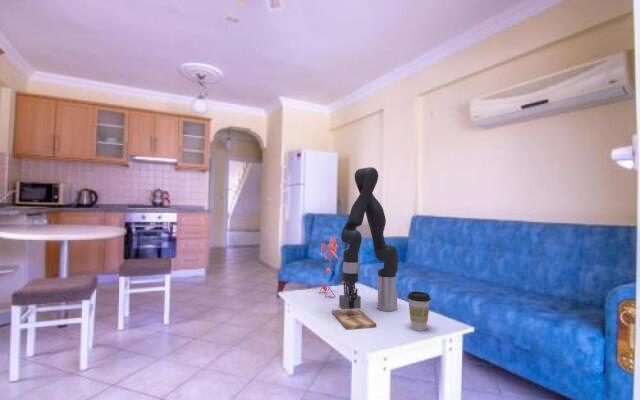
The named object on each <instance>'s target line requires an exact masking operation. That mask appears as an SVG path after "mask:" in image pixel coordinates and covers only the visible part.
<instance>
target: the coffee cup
mask: <svg viewBox="0 0 640 400" xmlns="http://www.w3.org/2000/svg"><path fill="white" fill-rule="evenodd" d="M407 299H408V309H409V317H410V318H409V320H410V325H411V329H412V330H414V331H417V332H422V331H423V332H424V331H426V330H427V327H428V325H427V324H428V320H429V313H430V312H429V311H430V303H431V302H430V301H432V300H431V299H432V298H431V297H430V294H429V293H427V292H423V291H410V292H409V293H408V295H407Z"/></svg>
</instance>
